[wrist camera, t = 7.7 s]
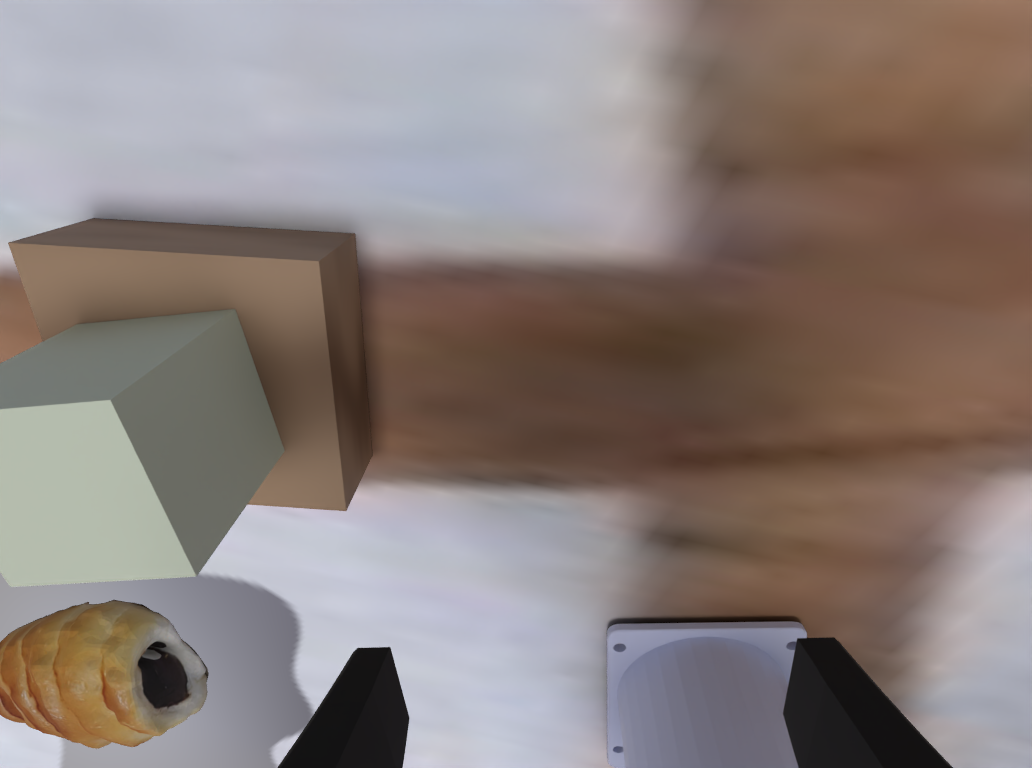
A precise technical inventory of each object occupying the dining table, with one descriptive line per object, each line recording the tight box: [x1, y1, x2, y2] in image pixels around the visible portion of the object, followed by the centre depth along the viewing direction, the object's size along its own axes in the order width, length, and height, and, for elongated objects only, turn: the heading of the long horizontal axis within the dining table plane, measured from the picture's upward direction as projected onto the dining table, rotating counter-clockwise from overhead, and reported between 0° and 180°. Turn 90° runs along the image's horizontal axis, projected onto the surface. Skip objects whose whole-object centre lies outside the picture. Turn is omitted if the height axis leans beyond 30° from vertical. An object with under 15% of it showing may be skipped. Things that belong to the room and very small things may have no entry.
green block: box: [0, 309, 285, 587], centre depth 14 cm, size 4×4×5 cm
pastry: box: [0, 600, 209, 748], centre depth 25 cm, size 9×7×4 cm
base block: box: [8, 218, 372, 511], centre depth 18 cm, size 8×8×4 cm
